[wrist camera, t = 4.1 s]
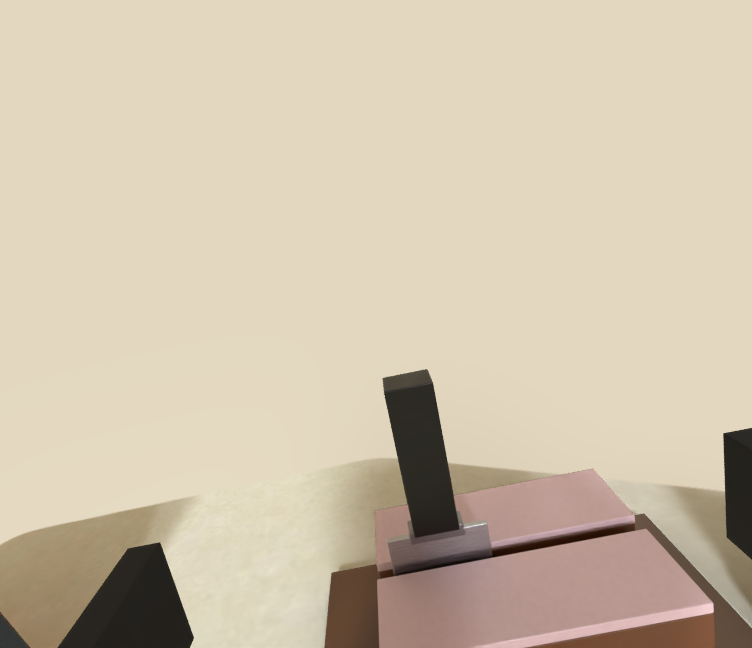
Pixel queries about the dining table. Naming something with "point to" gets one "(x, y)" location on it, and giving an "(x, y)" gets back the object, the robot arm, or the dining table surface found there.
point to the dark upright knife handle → (427, 484)
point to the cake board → (360, 603)
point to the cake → (544, 577)
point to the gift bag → (10, 635)
